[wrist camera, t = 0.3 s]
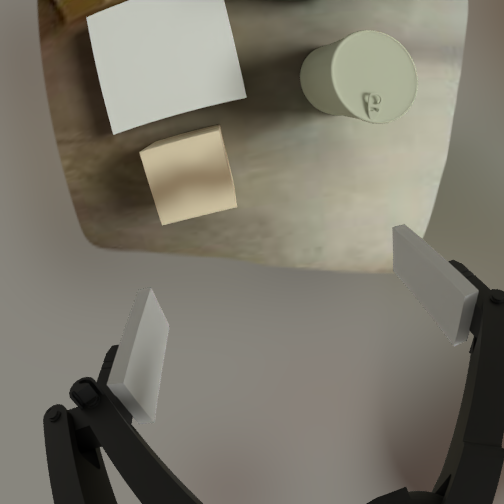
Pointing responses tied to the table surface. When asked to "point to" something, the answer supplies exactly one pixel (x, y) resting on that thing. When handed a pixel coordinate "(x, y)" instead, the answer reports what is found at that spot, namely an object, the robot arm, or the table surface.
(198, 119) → the table surface
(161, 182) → the maple cube
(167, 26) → the white square slab
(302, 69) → the can
